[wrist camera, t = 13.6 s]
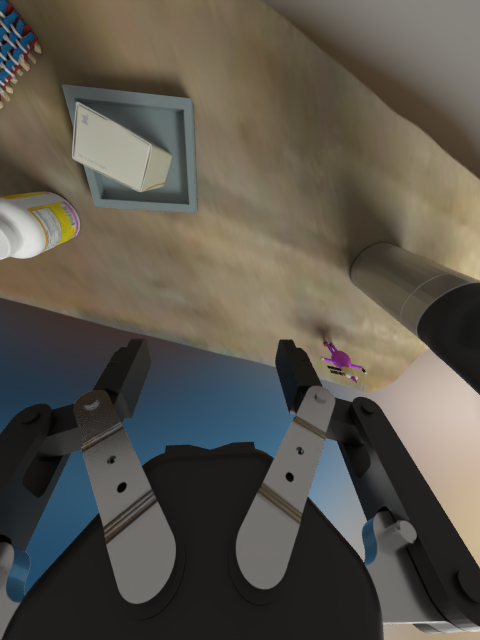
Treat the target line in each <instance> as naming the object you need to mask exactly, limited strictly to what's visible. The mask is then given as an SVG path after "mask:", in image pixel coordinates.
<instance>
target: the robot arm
mask: <svg viewBox="0 0 480 640" xmlns="http://www.w3.org/2000/svg"><path fill="white" fill-rule="evenodd" d="M350 276H351V280H352V282H353V284H354V285H355V286H356V287H357V288H359V289H360V290H361V291H362V292H364V293H365V294H366V295H367V296H368V297H369V298H371V299H372V300H373V301H374V302H375V303H377V304H378V305H379V306H380V307H382V308H383V309H384V310H385V311H386V312H388V313H389V314H390V315H391V316H392V317H394V318H395V319H396V320H397V321H398V322H400V323H401V324H402V325H403V326H405V327H406V328H407V329H408V330H409V331H411V332H412V333H413V334H414V335H416V336H417V337H418V338H419V339H420V340H421V341H423V342H424V343H425V344H426V345H428V347H429V348H430V349H431V350H432V351H433V352H434V353H435V354H436V355H437V356H438V357H439V358H440V359H442V360H443V361H444V362H445V363H446V364H447V365H448V366H450V367H451V368H452V369H453V370H454V371H455V372H456V373H457V374H458V375H459V376H460V377H461V378H463V379H464V380H465V381H466V382H467V383H468V384H469V385H470V386H471V387H472V388H473V389H474V390H475V391H476V392H477V393H478V394H479V395H480V281H479V280H477V279H474V278H472V277H469V276H467V275H465V274H462V273H459V272H457V271H455V270H452V269H450V268H447V267H445V266H443V265H440V264H438V263H435V262H433V261H431V260H428V259H426V258H423V257H421V256H418V255H416V254H414V253H411V252H409V251H407V250H404V249H402V248H399V247H397V246H395V245H392V244H389V243H377V244H375V245H372V246H370V247H368V248H367V249H365V250H364V251H363V252H362V253H361V254H360V255H359V256H358V257H357V258H356V260H355V261H354V263H353V265H352V268H351V275H350ZM275 363H276V369H277V372H278V376H279V379H280V383H281V386H282V389H283V393H284V397H285V400H286V403H287V407H288V411H289V413H290V414H296V416H295V417H294V419H293V421H292V423H291V425H290V427H289V429H288V431H287V433H286V435H285V437H284V439H283V441H282V443H281V446H280V448H279V450H278V452H277V454H276V456H275V458H273V457H272V456H270V455H269V454H267V453H265V452H263V451H261V450H258V449H255V447H254V442H240V443H239V442H238V443H230V444H228V445H224V446H221V447H218V448H215V449H212V450H209V449H204V448H201V447H196V446H192V445H169V446H166V449H165V453H163V454H160V455H158V456H156V457H154V458H152V459H151V460H149V461H148V462H146V463H145V464H144V465H143V466H141V464H140V462H139V460H138V458H137V455H136V453H135V451H134V449H133V447H132V445H131V442H130V440H129V438H128V436H127V434H126V431H125V429H124V427H123V425H122V422H123V420H124V418H132V416H133V413H134V411H135V407H136V405H137V402H138V400H139V397H140V394H141V391H142V388H143V385H144V383H145V380H146V377H147V374H148V372H149V369H150V365H151V358H150V353H149V348H148V345H147V340H146V339H131V340H130V342H129V344H128V346H127V347H122V348H120V349H119V350H118V351H117V352H115V353H114V355H113V356H112V358H111V360H110V362H109V363H108V365H107V367H106V368H105V370H104V372H103V373H102V375H101V377H100V379H99V380H98V382H97V383H96V385H95V387H94V389H93V390H92V391H90V392H87V393H86V394H84V395H82V396H81V397H80V398H79V399H78V400H77V401H76V402H75V403H74V404H72V405H68V406H65V407H61V408H57V409H53V410H52V409H51V407H50V406H49V405H47V404H37V405H33V406H30V407H28V408H26V409H24V410H23V411H21V412H20V413H18V414H17V415H16V416H15V417H14V418H13V419H12V420H11V421H10V423H9V424H8V425H7V426H6V428H5V429H4V430H3V431H2V433H1V434H0V640H384V638H383V624H413V625H414V626H416V627H417V628H418V629H419V630H421V631H423V632H425V633H430V634H432V633H450V632H471V631H480V568H479V566H478V565H477V563H476V561H475V560H474V558H473V557H472V555H471V553H470V552H469V550H468V548H467V547H466V545H465V544H464V542H463V540H462V539H461V537H460V536H459V534H458V532H457V531H456V529H455V528H454V526H453V524H452V523H451V521H450V519H449V518H448V516H447V515H446V513H445V511H444V510H443V508H442V507H441V505H440V503H439V502H438V500H437V499H436V497H435V495H434V494H433V492H432V490H431V489H430V487H429V485H428V484H427V482H426V481H425V479H424V477H423V476H422V474H421V473H420V471H419V470H418V468H417V466H416V465H415V463H414V461H413V460H412V458H411V457H410V455H409V453H408V452H407V450H406V448H405V447H404V445H403V443H402V442H401V440H400V439H399V437H398V436H397V434H396V432H395V431H394V429H393V427H392V426H391V424H390V422H389V421H388V419H387V418H386V416H385V415H384V413H383V411H382V410H381V408H380V407H379V406H378V405H377V404H376V403H375V402H373V401H372V400H370V399H368V398H365V397H357V398H355V399H354V400H353V402H349V401H346V400H342V399H338V398H335V397H334V396H333V394H332V393H331V392H330V391H329V390H328V389H326V388H324V387H323V386H322V384H321V382H320V380H319V378H318V376H317V374H316V372H315V370H314V368H313V367H312V363H311V361H310V359H309V357H308V355H307V353H306V352H305V351H304V350H302V349H301V348H296V346H295V344H294V342H293V340H280V341H279V345H278V349H277V354H276V360H275ZM326 438H328V439H332V440H335V441H337V442H338V445H339V448H340V450H341V453H342V456H343V458H344V461H345V464H346V466H347V469H348V472H349V474H350V477H351V479H352V482H353V485H354V487H355V490H356V493H357V495H358V498H359V501H360V503H361V506H362V509H363V511H364V514H365V516H366V519H367V522H366V523H365V524H364V526H363V529H362V539H363V544H364V548H365V561H364V562H363V561H362V559H361V558H360V556H359V555H358V553H357V552H356V551H355V550H354V549H353V547H352V546H351V545H350V544H349V543H348V542H347V541H346V539H345V538H344V537H343V536H342V535H341V534H340V533H339V531H338V530H337V529H336V528H335V527H334V526H333V524H332V523H331V522H330V521H329V520H328V519H327V518H326V517H325V515H324V514H323V513H322V512H321V511H320V510H319V508H318V507H317V506H316V505H315V504H314V503H313V502H312V500H311V499H310V498H309V497H308V494H309V490H310V487H311V484H312V481H313V477H314V474H315V471H316V468H317V465H318V461H319V458H320V455H321V451H322V449H323V445H324V442H325V439H326ZM80 449H82V453H83V456H84V460H85V464H86V467H87V470H88V474H89V478H90V481H91V484H92V488H93V492H94V495H95V499H96V503H97V506H98V509H99V513H98V514H97V516H96V517H95V518H94V519H93V520H92V521H91V522H90V523H89V524H88V525H87V526H86V528H85V529H84V530H83V531H82V532H81V533H80V534H79V535H78V536H77V538H75V540H74V541H73V542H72V543H71V544H70V545H69V546H68V547H67V548H66V549H65V551H64V552H63V553H62V554H61V555H60V556H59V557H58V558H57V559H56V561H55V562H54V563H53V564H52V565H51V566H50V567H49V568H48V569H47V570H46V571H45V572H44V574H43V575H42V576H41V577H40V578H39V579H38V580H37V581H36V582H35V584H34V585H33V586H32V587H31V588H30V590H29V591H28V593H27V594H26V595H24V586H25V581H26V579H27V575H28V572H29V568H30V558H29V555H28V554H27V553H26V552H25V549H26V547H27V545H28V543H29V541H30V539H31V537H32V535H33V532H34V530H35V528H36V526H37V524H38V522H39V520H40V517H41V516H42V513H43V511H44V509H45V507H46V505H47V503H48V501H49V498H50V496H51V494H52V492H53V490H54V488H55V486H56V484H57V482H58V480H59V477H60V475H61V473H62V471H63V469H64V467H65V465H66V463H67V460H68V458H69V456H70V454H71V452H74V451H76V450H80Z"/></svg>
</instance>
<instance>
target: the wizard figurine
mask: <svg viewBox="0 0 480 640" xmlns="http://www.w3.org/2000/svg"><path fill="white" fill-rule="evenodd" d="M324 346H327V347H328V349H329V350H330V351H331V353H332V356H331V358H332V359H327V358H324V357H320V359H321V360H325V361H329V362H333V363H334V365H335V366H336V368H335V367H330V366H327V367H328V368H329V369H330V368H331V369H333V370H337V371H342V372H343V373H341V372H337V371H333V370H332V371H331V370H330V371H331V373H336V372H337V373H336V374H340V373H341V374H340V375H342V376H345V375H346V376H347V377H349V378H351V379H352V380H354V381H355V382H356V383H357V381H356V380H357V378H358V377H357V376H356V374H355V373H354V372H353V371H352V370H351V369H350V368H349V367H354V368H359V369H361V370H362V371H363V372H364V373H365V374H366V371H365V370H364V369H363V367H362V366H357V365H352V364H351V360H350V358H349V356H348V355H347V354H346V353H344V352H342V351H338V350H337V349H336V348H335V346H334V345H331V346H329V344H328V343H325V344H324ZM332 348H333V349H334V350H335V352H334V351H333V350H332ZM337 367H338V368H337ZM341 369H342V370H341Z"/></svg>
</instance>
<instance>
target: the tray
mask: <svg viewBox="0 0 480 640" xmlns="http://www.w3.org/2000/svg"><path fill="white" fill-rule="evenodd" d="M61 85H62V88H63V92H64V95H65V99H66V103H67V106H68V110H69V114H70V117H71V121H72V125H73V128H74V120H75V110H76V102H80V103H81V104H83V105H85V106H87V107H89V108H91V109H93V110H95V111H97V112H98V113H100V114H102V115H104V116H106V117H108V118H110V119H111V120H113V121H115V122H117V123H119V124H121V125H122V126H124V127H126V128H128V129H130V130H132V131H134V132H135V133H137V134H139V135H141V136H142V137H144V138H146V139H147V140H149V141H151V142H152V143H154V144H156V145H157V146H159V147H161V148H162V149H164V150H166V151H167V152H169V153H170V154H172V159H171V163H170V167H169V170H168V174H167V177H166V180H165V183H164V186H163V187H160V188H156V189H152V190H148V191H143V192H138V191H136V190H134V189H132V188H130V187H127V186H125V185H123V184H121V183H119V182H117V181H115V180H113V179H111V178H109V177H107V176H105V175H103V174H101V173H99V172H97V171H95V170H93V169H91V168H89V167H87V166H85V165H84V168H85V172H86V176H87V179H88V183H89V187H90V190H91V194H92V198H93V201H94V205H95V207H105V208H123V209H140V210H157V211H174V212H191V213H197V211H198V199H197V173H196V147H195V121H194V103H193V100H192V99H191V98H182V97H173V96H164V95H155V94H146V93H137V92H128V91H119V90H110V89H102V88H93V87H84V86H75V85H66V84H61Z"/></svg>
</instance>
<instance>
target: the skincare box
mask: <svg viewBox="0 0 480 640" xmlns="http://www.w3.org/2000/svg"><path fill="white" fill-rule="evenodd" d="M72 157H73V159H74V160H76V161H78V162H80V163H81V164H83V165H85V166H87V167H89V168H91V169H93V170H95V171H97V172H99V173H101V174H103V175H105V176H107V177H109V178H111V179H113V180H115V181H117V182H119V183H121V184H123V185H125V186H127V187H130V188H132V189H134V190H136V191H138V192H143V191H148V190H152V189H156V188H160V187H163V186H164V183H165V180H166V177H167V174H168V170H169V167H170V163H171V159H172V154H170V153H169V152H167V151H166V150H164V149H162V148H161V147H159V146H157V145H156V144H154V143H152V142H151V141H149V140H147V139H146V138H144V137H142V136H141V135H139V134H137V133H135V132H134V131H132V130H130V129H128V128H126V127H124V126H122V125H121V124H119V123H117V122H115V121H113V120H111V119H110V118H108V117H106V116H104V115H102V114H100V113H98V112H97V111H95V110H93V109H91V108H89V107H87V106H85V105H83V104H81V103H80V102H76V110H75V120H74V133H73V148H72Z"/></svg>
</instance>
